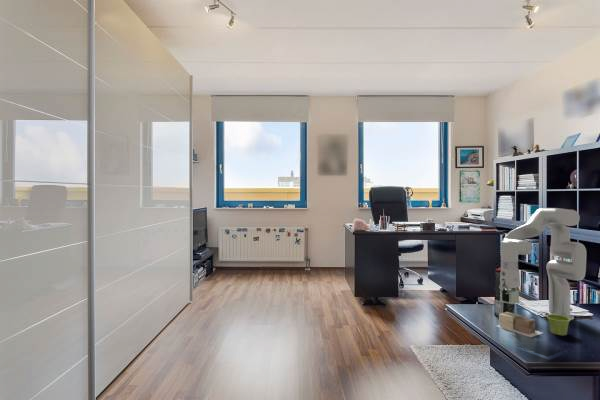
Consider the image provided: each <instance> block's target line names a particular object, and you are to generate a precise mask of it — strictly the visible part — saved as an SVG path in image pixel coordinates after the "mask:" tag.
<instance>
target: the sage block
mask: <svg viewBox="0 0 600 400" xmlns="http://www.w3.org/2000/svg"><path fill="white" fill-rule="evenodd" d="M505 290H506V289H505ZM517 290H518V289H517ZM517 290H513V289H509V291H508V294H509V302H505V301H502V293H501V290H500V301H501V302H505V303H509V304H519V303H520V291H519V290H518V291H517Z"/></svg>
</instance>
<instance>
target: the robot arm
mask: <svg viewBox="0 0 600 400" xmlns="http://www.w3.org/2000/svg"><path fill="white" fill-rule="evenodd" d="M580 218H581V217H580V214H579V212H578V211H576V210H575V209H567V208H561V207H560V208H558V207H540V208H537V209H536V210H535V211H534V213H533V214H532V215H531V217H530V218H529V219H528V220H527V221H526V223H525V224H523V225H520V226H518V227H516V228H514V229H512V230H510V231H509V232H508V233H507V234H506V235H505V236H504V238H503V239H502V240H501V242H500V267H501V273H500V286H499V288H500V289H501V293H502V301H505V302H509V294H508V291H509V289H513V290H517V291H519V290H518V289H519V288H520V287H521V278H520V269H519V255H520V256H521V255H522V256H526V255H527V256H528V255H530V254H531V253H532V252H533V250H534V246H533V244H532V242H530V241H528V240H525V239H529V238H530V239H531V238H535V237H538V236H540V235H541V234H542V233H543V232H544V231H545V229H546V228H547V227H548V228H549V229H550V235H551V237H550V254H551V256H553V257H555V258H561V260H560V259H551V260H549V261H548V262H547V263H546V265H545V266H546V272H547V273H546V274H547V277H548V278H547V279H548V311H549V312H550V313H551V314H555V315H562V316H566V317H568V318H570V319H571V320H570V321H572V320H575V317H574V315H573V314H571V312H573V308H571V285H570V284H569V281H568V280H571V281H579V282H580V281H582V280H583V279H585V277H586V272H587V248H586V247H585V244H583V243H581V242H577V241H571V232H570V229H569V228H568V227H567V226H569V227H573V226H577V225H578V224H579V223H580ZM562 259H566V260H562ZM567 260H571V261H567ZM505 289H506V290H505Z"/></svg>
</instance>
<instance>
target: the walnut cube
mask: <svg viewBox="0 0 600 400" xmlns="http://www.w3.org/2000/svg"><path fill="white" fill-rule="evenodd" d="M515 330H516V331H519V332H522V333H525V334H531V333H534V332H535V330H536V319H533V318H530V317H526V316H522V315H521V317H518V318H515Z"/></svg>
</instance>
